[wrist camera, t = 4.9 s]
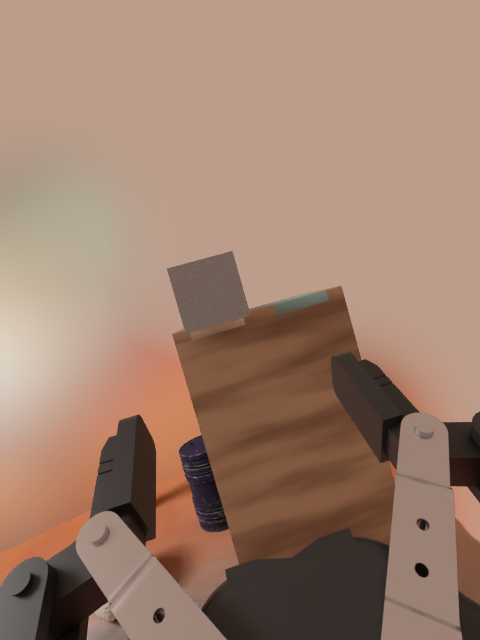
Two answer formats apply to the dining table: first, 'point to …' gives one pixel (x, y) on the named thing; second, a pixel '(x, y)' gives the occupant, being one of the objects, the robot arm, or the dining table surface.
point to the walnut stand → (284, 427)
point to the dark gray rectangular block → (208, 292)
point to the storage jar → (203, 486)
